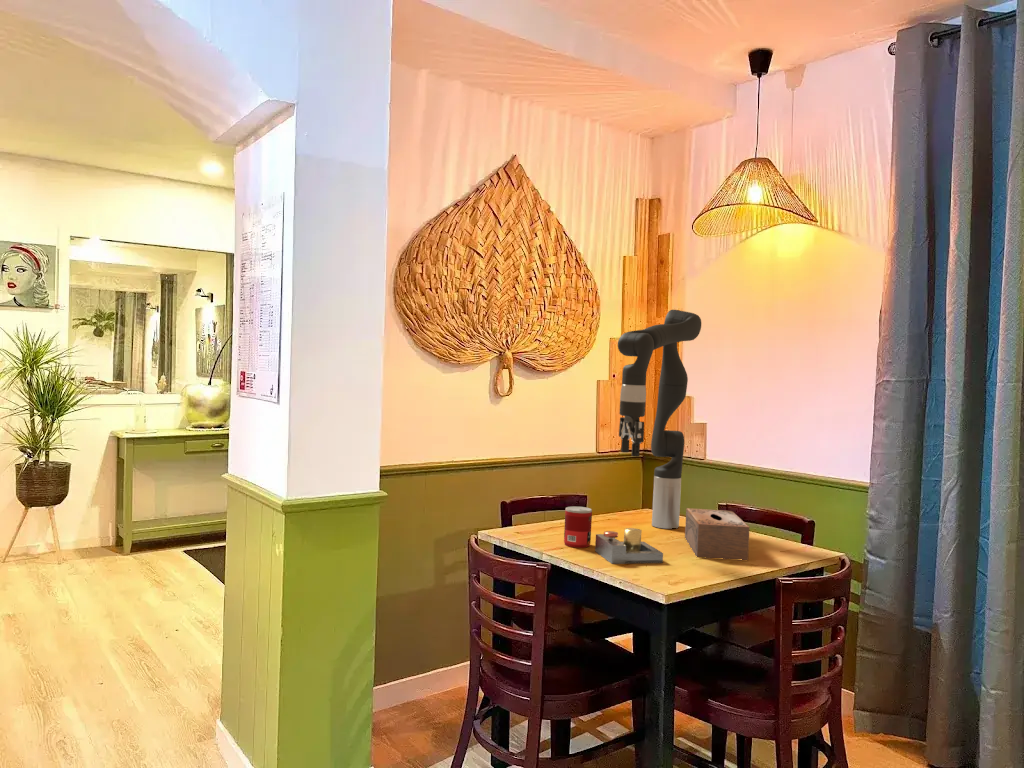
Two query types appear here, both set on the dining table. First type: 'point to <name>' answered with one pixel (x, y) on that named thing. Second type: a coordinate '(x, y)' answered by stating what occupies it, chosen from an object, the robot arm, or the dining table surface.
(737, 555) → the tissue box cover
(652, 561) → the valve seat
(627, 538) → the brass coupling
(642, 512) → the dining table surface
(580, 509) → the canned food
